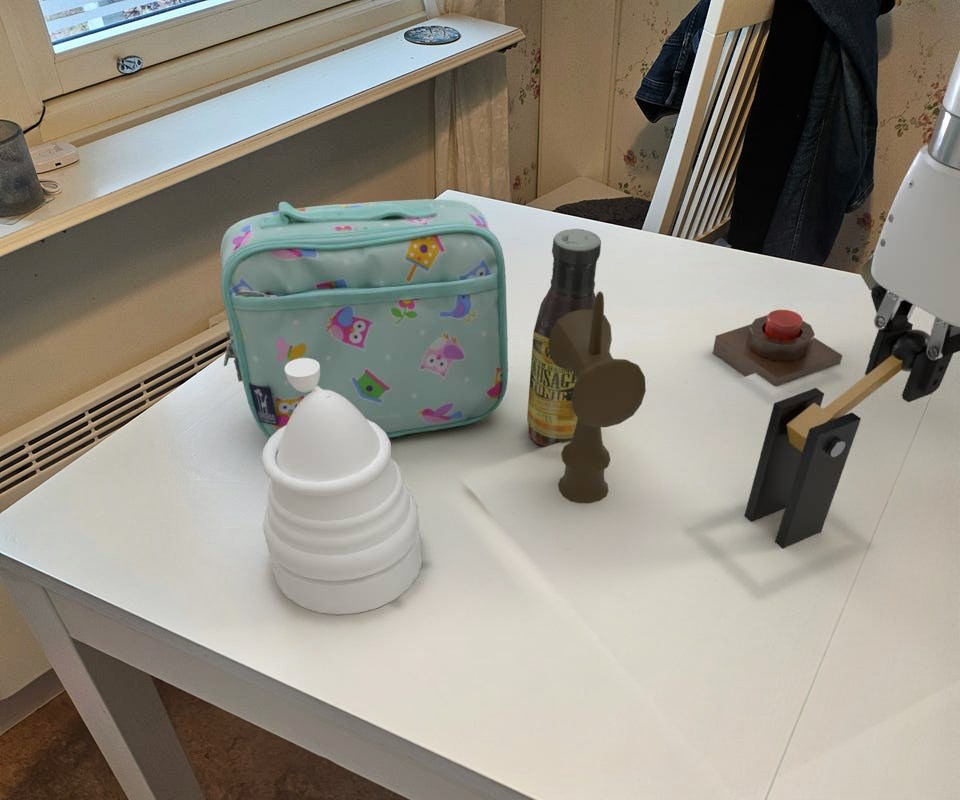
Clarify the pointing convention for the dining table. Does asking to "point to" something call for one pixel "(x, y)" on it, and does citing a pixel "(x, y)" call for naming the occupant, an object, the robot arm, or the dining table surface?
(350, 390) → the lunch box
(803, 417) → the switch lever
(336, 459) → the honey pot
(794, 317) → the light button
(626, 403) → the kendama
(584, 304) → the sauce bottle
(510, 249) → the dining table surface
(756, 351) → the button block
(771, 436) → the switch bracket
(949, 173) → the robot arm
